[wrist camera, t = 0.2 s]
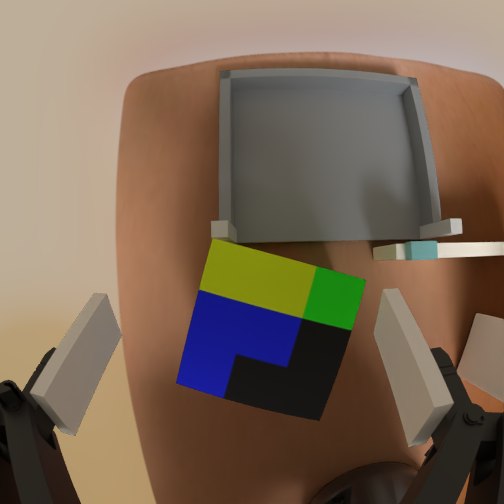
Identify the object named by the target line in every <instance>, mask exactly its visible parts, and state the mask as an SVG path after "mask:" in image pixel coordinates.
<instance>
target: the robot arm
mask: <svg viewBox="0 0 504 504" xmlns="http://www.w3.org/2000/svg"><path fill="white" fill-rule="evenodd" d="M373 335H374V338H375V340H376V343H377V346H378V349H379V352H380V355H381V358H382V361H383V364H384V367H385V370H386V373H387V376H388V379H389V382H390V386H391V389H392V392H393V395H394V398H395V402H396V405H397V408H398V412H399V415H400V419H401V422H402V426H403V429H404V433H405V437H406V440H407V444H408V447H411V446H416V445H420V444H424V443H426V442H427V441H428V439H429V438H430V437H431V436H432V439H433V443H434V444H433V445H432V446H431V447H430V449H429V450H428V451H427V452H426V454H425V456H426V458H425V460H424V462H423V464H422V466H421V467H420V469H419V471H417V470H416V469H414V468H413V467H411V466H409V465H407V464H403V463H397V462H384V463H376V464H371V465H367V466H364V467H361V468H358V469H355V470H353V471H350V472H348V473H346V474H344V475H342V476H340V477H338V478H337V479H335V480H333V481H332V482H330V483H329V484H328V485H326V486H325V487H324V488H323V489H322V490H321V491H320V492H319V493H318V494H317V495H316V496H315V497H314V499H313V500H312V502H311V503H310V504H456V502H457V500H458V497H459V495H460V493H461V491H462V489H463V486H464V484H465V482H466V479H467V477H468V475H469V472H470V476H469V482H468V487H467V492H466V497H465V502H464V504H504V412H503V413H491V412H485V411H484V410H483V409H482V407H480V406H479V405H477V404H473V403H472V402H471V400H470V398H469V396H468V394H467V392H466V390H465V387H464V385H463V383H462V381H461V379H460V377H459V375H458V374H457V371H456V369H455V367H453V363H452V361H451V359H450V357H449V355H448V354H447V353H446V352H445V351H444V350H443V349H442V348H440V347H438V348H432V349H429V347H428V345H427V343H426V341H425V339H424V337H423V335H422V333H421V331H420V329H419V327H418V325H417V323H416V321H415V319H414V317H413V315H412V313H411V311H410V309H409V308H408V306H407V304H406V302H405V300H404V298H403V297H402V295H401V293H400V291H399V289H398V288H394V289H383V292H382V297H381V301H380V306H379V311H378V315H377V320H376V324H375V328H374V333H373ZM121 336H122V334H121V332H120V329H119V327H118V324H117V321H116V319H115V316H114V313H113V311H112V308H111V305H110V302H109V299H108V296H107V294H101V293H94V294H93V295H92V297H91V298H90V300H89V301H88V302H87V304H86V305H85V307H84V308H83V310H82V311H81V313H80V314H79V315H78V317H77V318H76V320H75V321H74V323H73V324H72V326H71V327H70V329H69V330H68V332H67V333H66V335H65V336H64V338H63V339H62V341H61V343H60V344H59V346H58V347H57V348H54V347H53V348H52V349H51V350H50V351H48V352H47V353H46V354H45V355H44V357H43V359H42V360H41V362H40V364H39V365H38V366H37V368H36V371H34V373H33V375H32V376H31V378H30V379H29V381H28V383H27V384H26V386H25V388H24V389H23V391H22V392H21V390H20V389H19V388H18V387H17V385H16V383H14V382H13V381H10V380H6V381H3V382H1V383H0V504H81V502H80V500H79V498H78V496H77V493H76V491H75V488H74V486H73V483H72V481H71V478H70V475H69V473H68V470H67V467H66V464H65V461H64V459H63V456H62V453H61V450H60V447H59V443H58V440H57V437H56V434H55V432H54V431H53V428H54V426H55V425H56V426H57V427H58V429H59V430H60V431H61V432H63V433H66V434H69V435H73V436H76V433H77V431H78V428H79V426H80V424H81V421H82V419H83V417H84V415H85V412H86V410H87V408H88V405H89V403H90V401H91V399H92V396H93V394H94V392H95V390H96V388H97V385H98V383H99V381H100V379H101V377H102V374H103V373H104V371H105V369H106V366H107V364H108V362H109V360H110V358H111V356H112V354H113V352H114V350H115V348H116V346H117V344H118V342H119V340H120V338H121Z"/></svg>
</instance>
